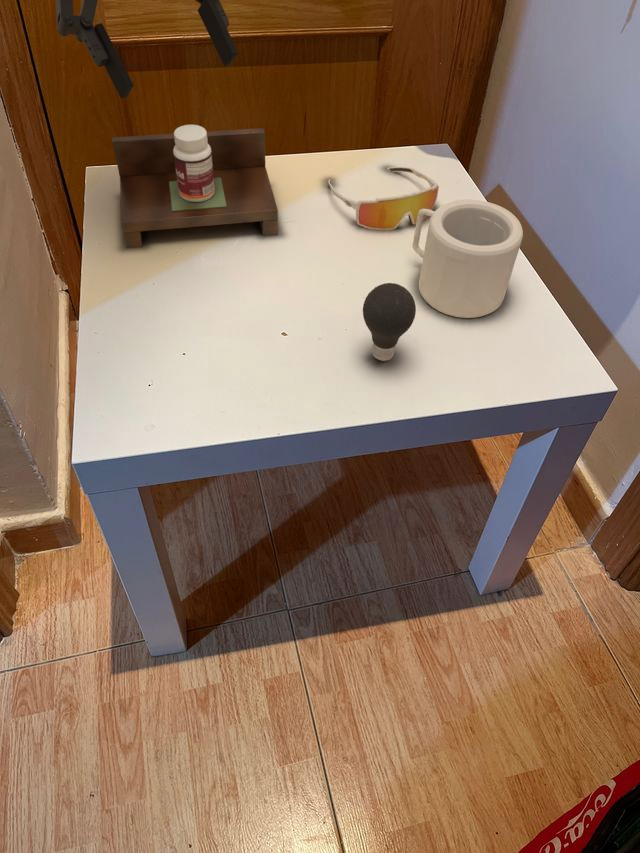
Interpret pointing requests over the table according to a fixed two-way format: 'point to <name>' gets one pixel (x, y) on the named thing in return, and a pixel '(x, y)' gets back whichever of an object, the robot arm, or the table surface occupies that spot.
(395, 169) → the sunglasses
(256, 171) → the shelf
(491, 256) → the mug
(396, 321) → the light bulb
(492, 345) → the table surface
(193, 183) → the pill bottle
